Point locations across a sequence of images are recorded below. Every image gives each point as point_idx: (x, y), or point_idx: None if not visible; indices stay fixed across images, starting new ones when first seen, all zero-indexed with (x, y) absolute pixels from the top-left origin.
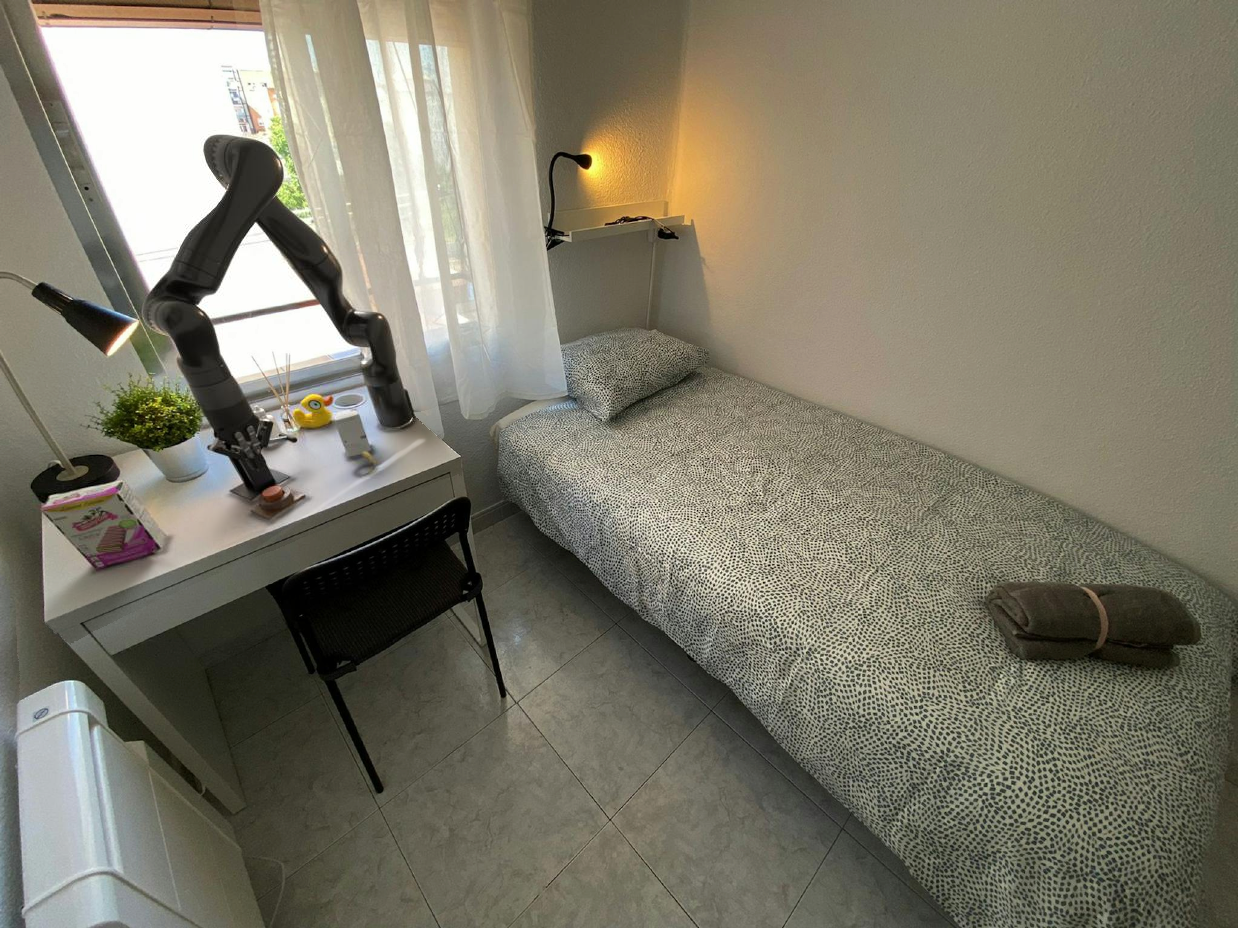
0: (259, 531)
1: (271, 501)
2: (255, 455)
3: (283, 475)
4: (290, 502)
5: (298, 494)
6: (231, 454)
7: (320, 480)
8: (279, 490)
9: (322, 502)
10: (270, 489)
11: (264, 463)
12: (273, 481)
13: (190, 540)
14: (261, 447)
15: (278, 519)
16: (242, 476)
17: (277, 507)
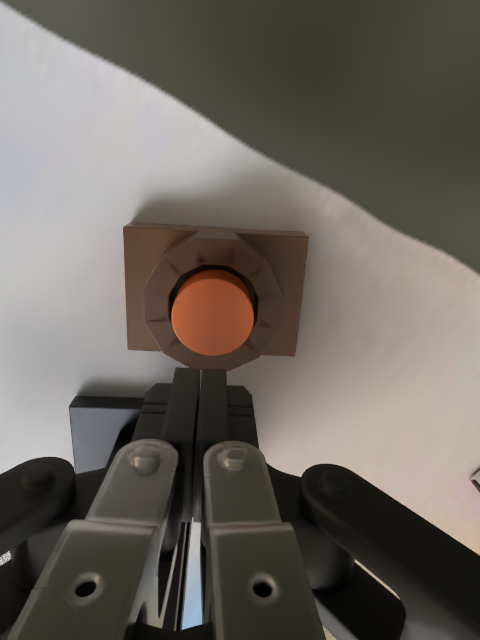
0: (359, 228)
1: (252, 277)
2: (187, 452)
3: (79, 433)
4: (195, 233)
5: (136, 256)
6: (445, 562)
7: (9, 285)
8: (194, 284)
9: (109, 130)
10: (207, 333)
11: (163, 390)
12: (127, 431)
13: (460, 409)
14: (86, 486)
15: (276, 221)
16: (187, 526)
17: (251, 246)
